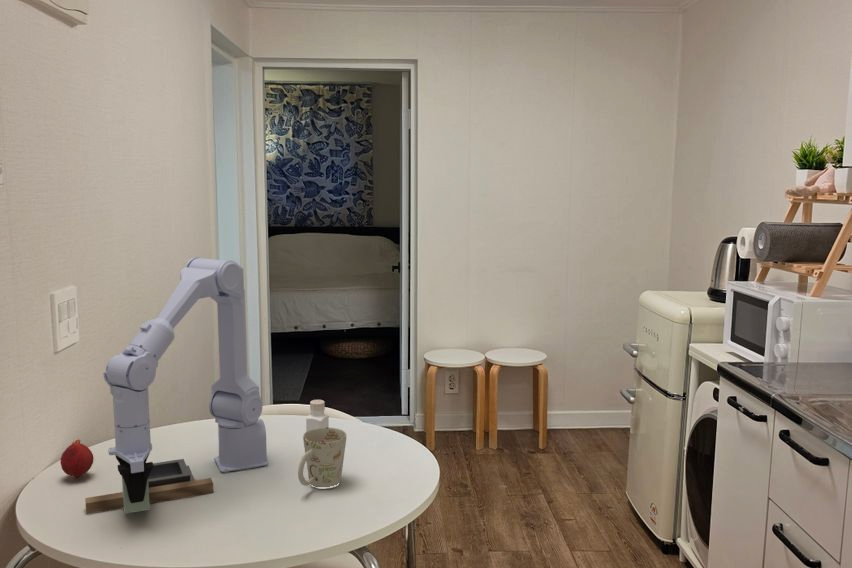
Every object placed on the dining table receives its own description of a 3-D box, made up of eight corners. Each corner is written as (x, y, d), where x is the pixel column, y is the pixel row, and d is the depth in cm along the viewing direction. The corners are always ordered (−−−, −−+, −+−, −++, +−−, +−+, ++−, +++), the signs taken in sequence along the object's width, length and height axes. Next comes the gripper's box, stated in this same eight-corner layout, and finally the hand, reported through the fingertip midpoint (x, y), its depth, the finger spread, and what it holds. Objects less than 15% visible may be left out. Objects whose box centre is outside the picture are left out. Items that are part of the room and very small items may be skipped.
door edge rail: (211, 487, 143) (210, 477, 143) (213, 492, 141) (213, 482, 141) (85, 508, 134) (85, 498, 134) (86, 514, 132) (85, 503, 131)
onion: (81, 485, 143) (79, 446, 142) (55, 482, 144) (52, 443, 143) (100, 473, 149) (98, 435, 148) (74, 471, 150) (72, 433, 149)
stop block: (147, 500, 134) (145, 468, 133) (149, 509, 131) (148, 476, 130) (123, 504, 133) (121, 472, 132) (125, 513, 129) (123, 480, 128)
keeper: (188, 468, 152) (188, 456, 152) (197, 489, 143) (197, 476, 142) (131, 477, 148) (130, 464, 147) (136, 499, 138) (135, 486, 137)
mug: (354, 479, 148) (354, 431, 147) (319, 504, 137) (319, 453, 135) (318, 471, 152) (318, 424, 150) (282, 495, 140) (281, 445, 139)
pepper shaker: (321, 446, 165) (320, 405, 164) (305, 444, 167) (304, 403, 165) (329, 440, 169) (329, 400, 167) (314, 438, 170) (313, 398, 169)
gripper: (104, 412, 134) (108, 484, 136) (109, 439, 121) (113, 518, 123) (146, 407, 137) (149, 477, 139) (155, 433, 124) (158, 510, 126)
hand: (135, 496), depth 131 cm, fingers closed on stop block, 4 cm apart
